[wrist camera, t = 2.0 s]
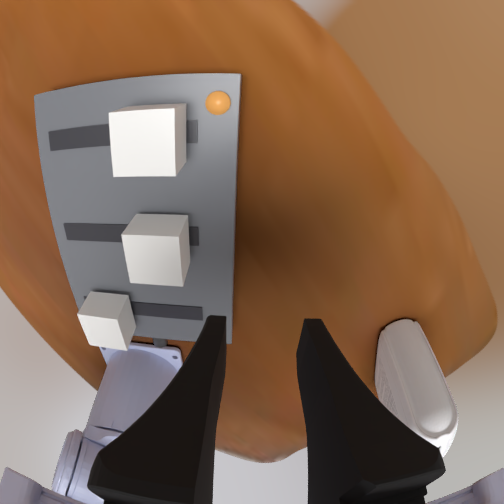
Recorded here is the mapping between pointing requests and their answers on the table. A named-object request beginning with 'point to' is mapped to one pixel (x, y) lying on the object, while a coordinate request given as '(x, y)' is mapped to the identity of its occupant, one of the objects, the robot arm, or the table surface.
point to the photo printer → (415, 384)
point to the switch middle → (157, 249)
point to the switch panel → (145, 195)
